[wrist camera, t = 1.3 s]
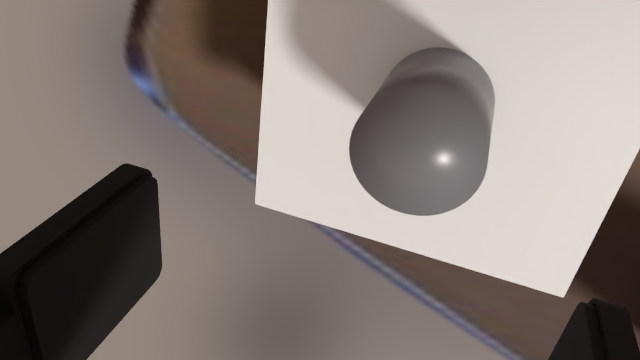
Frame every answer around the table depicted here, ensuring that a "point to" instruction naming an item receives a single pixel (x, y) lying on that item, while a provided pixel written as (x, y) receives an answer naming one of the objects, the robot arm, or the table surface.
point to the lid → (453, 125)
